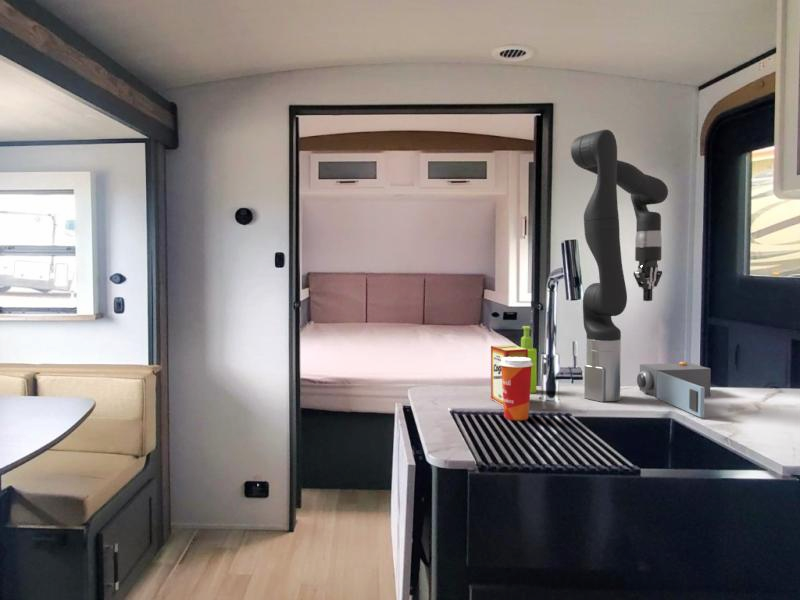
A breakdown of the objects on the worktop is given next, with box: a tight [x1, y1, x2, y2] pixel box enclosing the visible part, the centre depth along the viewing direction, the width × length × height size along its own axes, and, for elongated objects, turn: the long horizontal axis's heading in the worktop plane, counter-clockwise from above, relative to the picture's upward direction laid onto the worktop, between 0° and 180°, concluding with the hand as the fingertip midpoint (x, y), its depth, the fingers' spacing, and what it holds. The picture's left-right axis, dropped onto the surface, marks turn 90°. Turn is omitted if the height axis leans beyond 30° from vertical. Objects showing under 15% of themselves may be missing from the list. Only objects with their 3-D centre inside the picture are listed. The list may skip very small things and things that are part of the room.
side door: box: [654, 371, 705, 418], centre depth 146 cm, size 2×22×7 cm, turn 2°
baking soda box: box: [490, 344, 528, 404], centre depth 153 cm, size 10×6×16 cm
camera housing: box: [636, 361, 712, 397], centre depth 163 cm, size 10×18×9 cm, turn 95°
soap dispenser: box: [520, 325, 538, 394], centre depth 168 cm, size 6×7×20 cm
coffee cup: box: [500, 357, 533, 421], centre depth 138 cm, size 8×8×15 cm
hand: (647, 300), depth 173 cm, fingers closed
